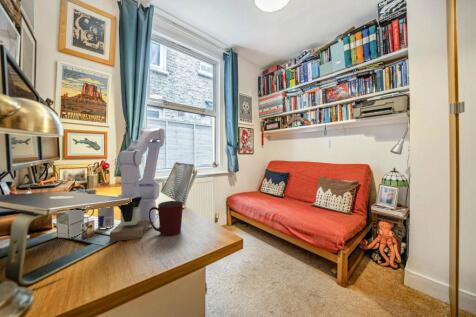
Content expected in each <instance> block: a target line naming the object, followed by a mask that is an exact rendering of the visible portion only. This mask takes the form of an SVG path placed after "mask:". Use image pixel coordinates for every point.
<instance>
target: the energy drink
mask: <svg viewBox="0 0 476 317" xmlns="http://www.w3.org/2000/svg"><path fill="white" fill-rule="evenodd" d="M113 225H114V226H115V206H114V207H110V208H101V209H98V208H97V229H99V228H107V227H111V226H113ZM114 226H113V227H114ZM111 228H112V227H111Z"/></svg>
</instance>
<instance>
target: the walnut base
mask: <svg viewBox="0 0 476 317" xmlns="http://www.w3.org/2000/svg"><path fill="white" fill-rule="evenodd" d="M149 224H150V223H149V220H146V221H139V222H138V223H137V224H136V225H122V226H121V222H120V223H118V224H117V226H115V227H114V228H113V229H112V230H111V231H110V232H109V241H110V242H115V241H117V242H118V241H126V240H127V241H128V240H140V239H143V237H144V235H145V234H146V232H147V230H148V229H149Z"/></svg>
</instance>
